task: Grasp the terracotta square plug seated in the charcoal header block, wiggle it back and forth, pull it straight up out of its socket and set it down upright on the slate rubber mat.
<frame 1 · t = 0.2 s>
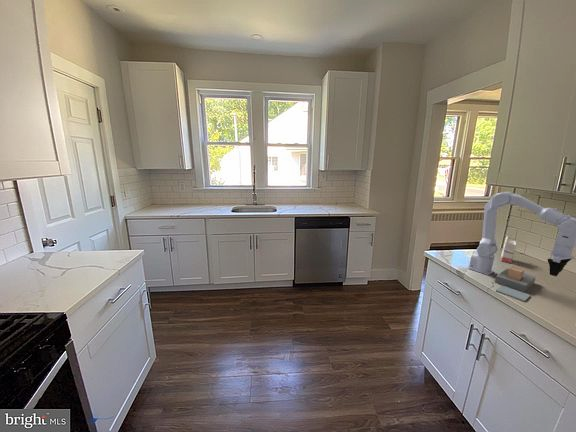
hand: (555, 273, 110), 10 cm above the worktop, fingers open, 7 cm apart
ink cartridge box: (506, 260, 148), on the worktop
plug: (512, 283, 120), resting in header
header: (514, 282, 121), on the worktop
mat: (512, 293, 111), on the worktop
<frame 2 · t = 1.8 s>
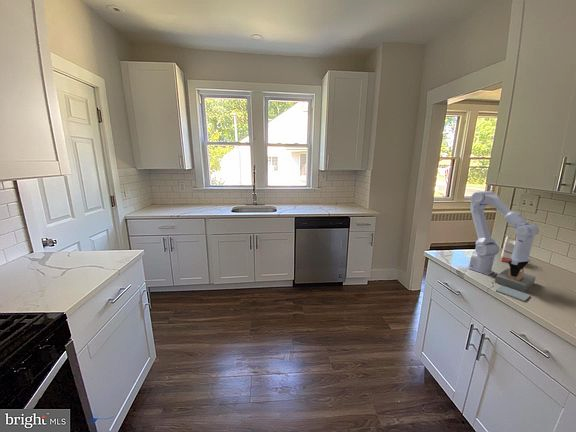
hand: (515, 274, 119), 5 cm above the worktop, fingers closed on plug, 4 cm apart
plug: (513, 283, 120), resting in header, touching gripper
everything else where it was.
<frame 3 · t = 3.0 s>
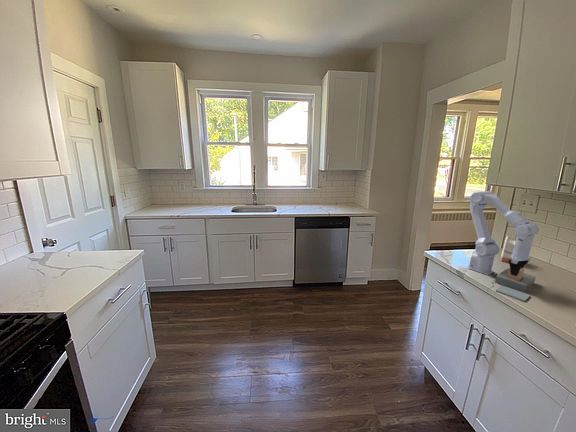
hand: (515, 273, 119), 5 cm above the worktop, fingers closed on plug, 4 cm apart
plug: (512, 282, 120), resting in header, touching gripper
everything else where it was.
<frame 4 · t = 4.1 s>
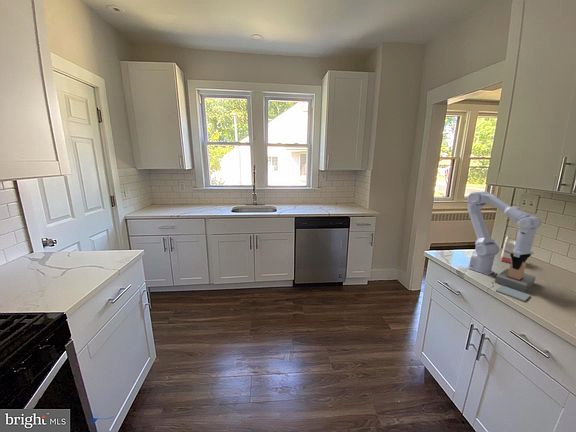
hand: (517, 267, 118), 9 cm above the worktop, fingers closed on plug, 4 cm apart
plug: (514, 276, 119), point 4 cm above the worktop, touching gripper
everything else where it was.
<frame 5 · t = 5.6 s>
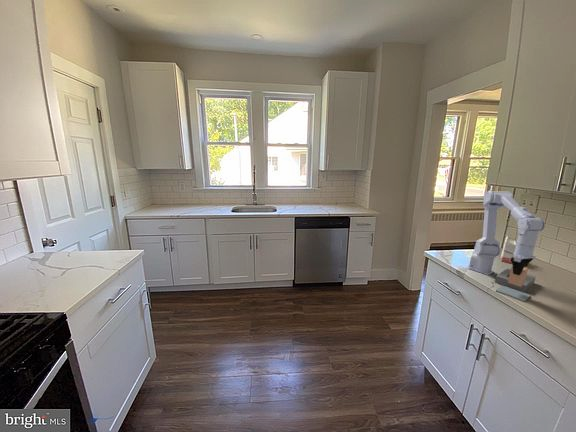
hand: (518, 273, 109), 10 cm above the worktop, fingers closed on plug, 4 cm apart
plug: (515, 283, 110), point 5 cm above the worktop, touching gripper
everything else where it was.
when the fingers open (7 cm above the worktop, at t = 6.7 s): plug drops 1 cm, resting on mat.
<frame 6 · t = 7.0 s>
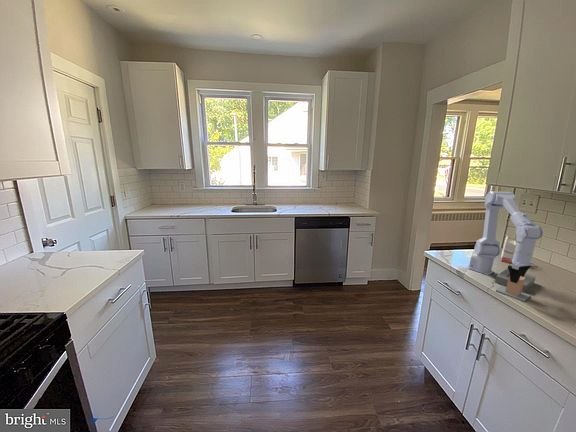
hand: (516, 279, 110), 7 cm above the worktop, fingers open, 7 cm apart
plug: (513, 292, 111), point 1 cm above the worktop, touching mat
everything else where it was.
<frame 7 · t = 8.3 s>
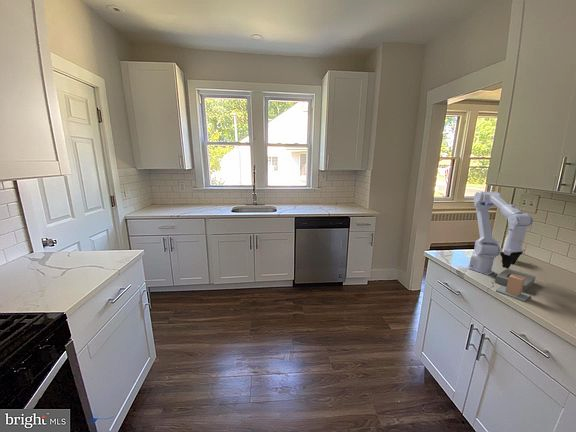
hand: (508, 265, 116), 10 cm above the worktop, fingers open, 7 cm apart
nothing on the worktop moved.
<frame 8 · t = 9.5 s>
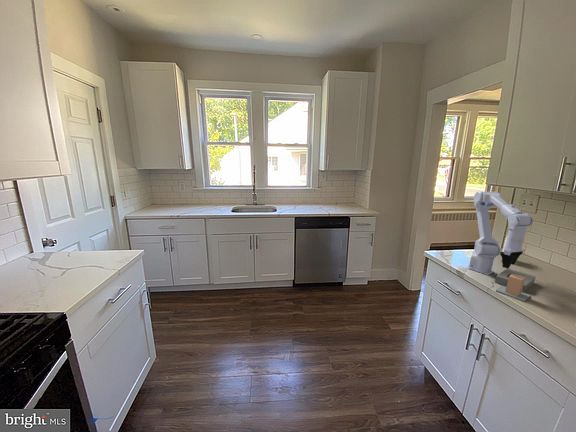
hand: (508, 265, 116), 10 cm above the worktop, fingers open, 7 cm apart
nothing on the worktop moved.
at the end: plug 0.1 cm off-centre on the mat, point 0.6 cm above the mat's base; plug tilted 0°; the gripper is holding nothing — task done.
